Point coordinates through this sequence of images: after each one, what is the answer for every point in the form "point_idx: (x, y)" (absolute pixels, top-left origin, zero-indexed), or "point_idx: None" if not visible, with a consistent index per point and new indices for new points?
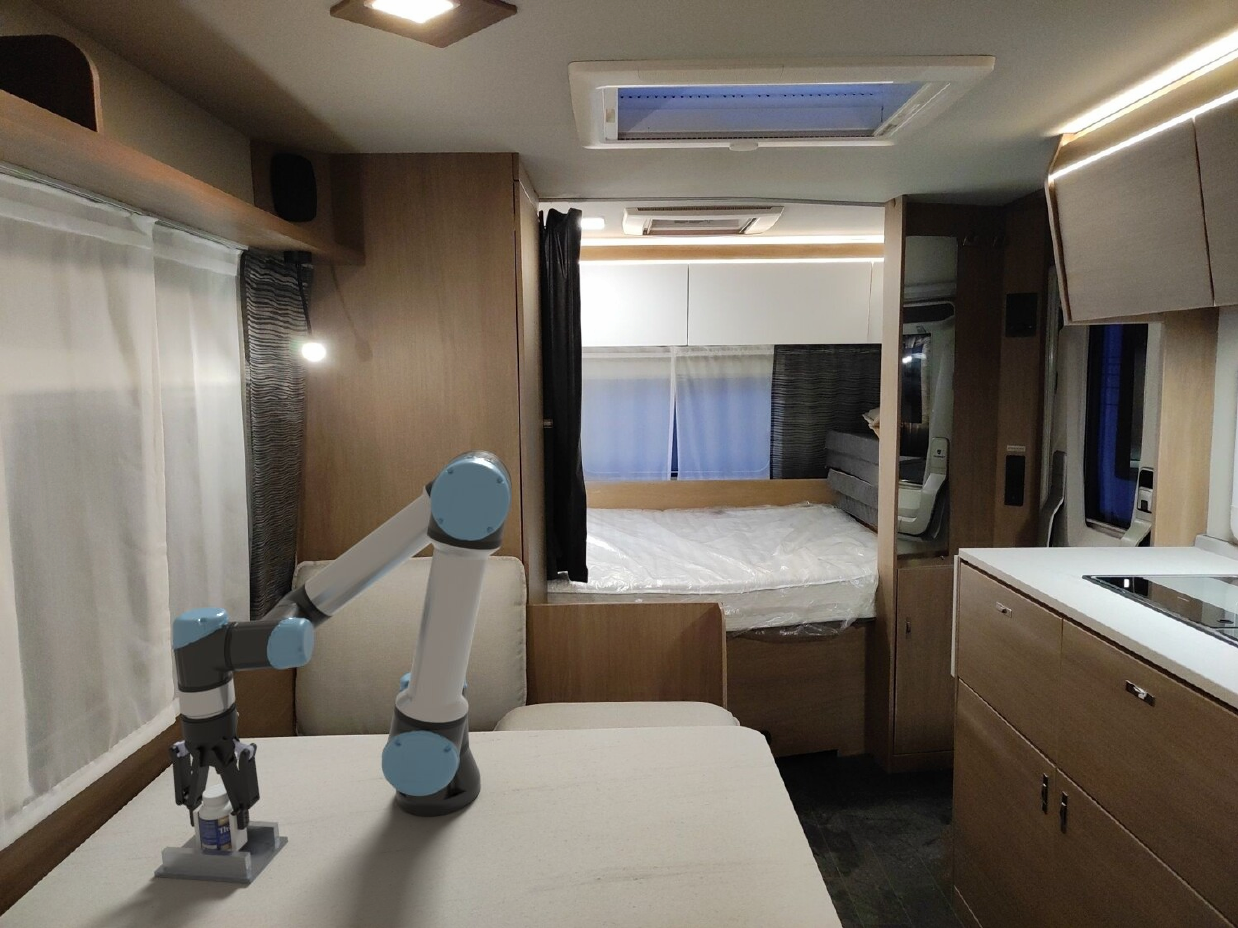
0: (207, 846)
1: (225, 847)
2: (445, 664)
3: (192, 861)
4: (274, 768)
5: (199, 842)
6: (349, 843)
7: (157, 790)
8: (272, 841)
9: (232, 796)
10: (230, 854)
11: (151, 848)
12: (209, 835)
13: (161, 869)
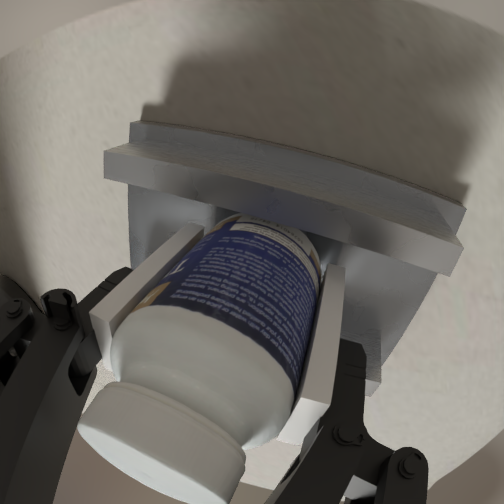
0: (272, 235)
1: (212, 230)
2: None
3: (328, 188)
4: (287, 465)
5: (329, 279)
6: (43, 240)
7: (468, 454)
8: None
9: (26, 379)
10: (156, 170)
11: (485, 328)
12: (238, 255)
13: (447, 214)
